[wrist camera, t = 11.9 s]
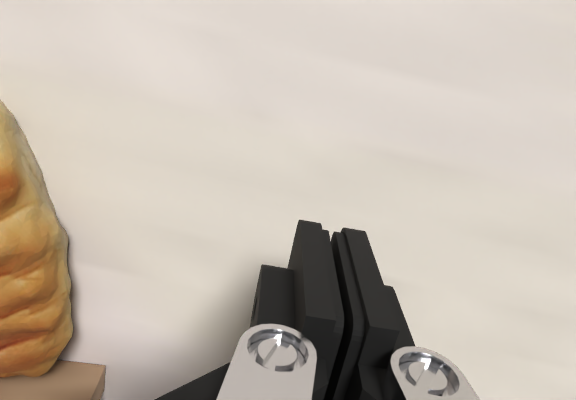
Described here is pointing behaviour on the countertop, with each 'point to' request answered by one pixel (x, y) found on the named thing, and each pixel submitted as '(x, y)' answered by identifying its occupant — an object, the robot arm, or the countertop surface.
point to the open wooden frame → (57, 383)
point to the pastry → (29, 262)
